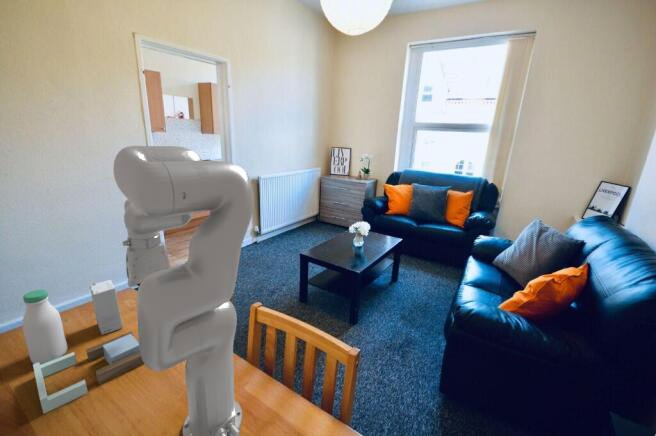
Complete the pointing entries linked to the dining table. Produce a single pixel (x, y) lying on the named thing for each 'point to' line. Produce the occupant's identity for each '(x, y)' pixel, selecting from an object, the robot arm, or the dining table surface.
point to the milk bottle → (42, 328)
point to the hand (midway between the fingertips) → (151, 298)
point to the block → (120, 348)
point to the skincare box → (106, 306)
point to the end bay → (63, 395)
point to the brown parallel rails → (114, 368)
